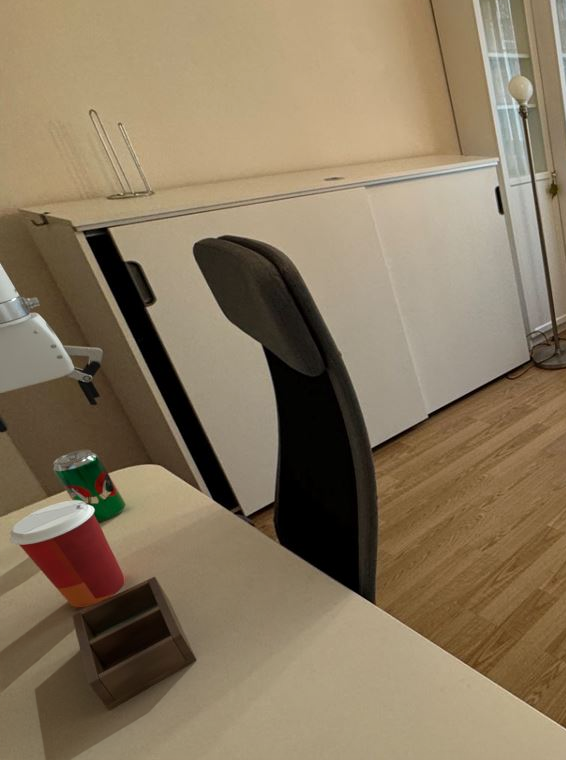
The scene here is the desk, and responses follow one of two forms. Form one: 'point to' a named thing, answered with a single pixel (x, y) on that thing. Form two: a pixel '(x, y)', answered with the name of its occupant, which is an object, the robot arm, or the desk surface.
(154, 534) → the desk surface
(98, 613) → the brown wooden divided box
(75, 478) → the soda can
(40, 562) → the paper cup
